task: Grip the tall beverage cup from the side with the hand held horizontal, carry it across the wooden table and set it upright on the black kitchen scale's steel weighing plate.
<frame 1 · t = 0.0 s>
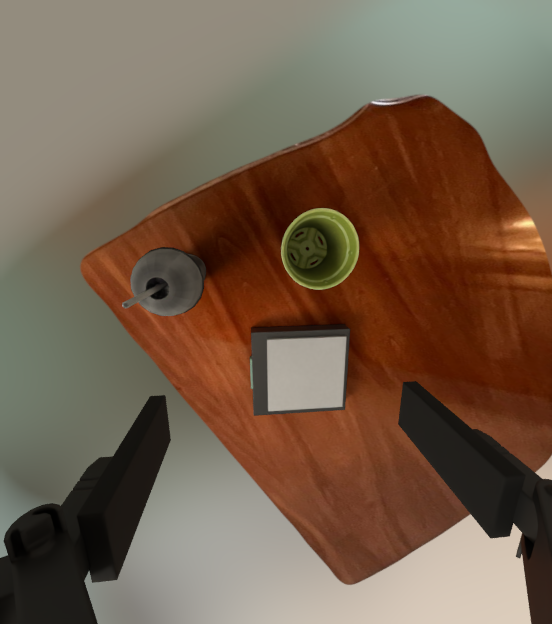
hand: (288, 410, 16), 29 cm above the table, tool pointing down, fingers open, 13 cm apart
plant pot: (306, 247, 42), on the table
beverage cup: (190, 270, 41), on the table
scale: (298, 366, 47), on the table
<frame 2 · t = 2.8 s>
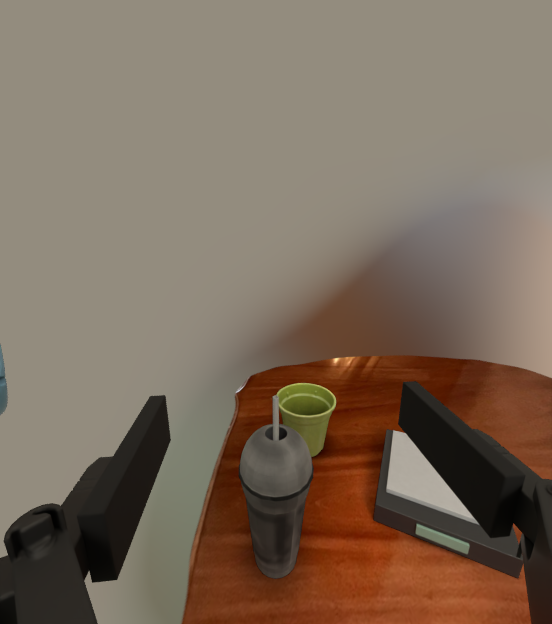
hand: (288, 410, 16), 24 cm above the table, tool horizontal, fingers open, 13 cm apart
plant pot: (304, 445, 47), on the table
beverage cup: (276, 555, 31), on the table
scale: (435, 493, 38), on the table
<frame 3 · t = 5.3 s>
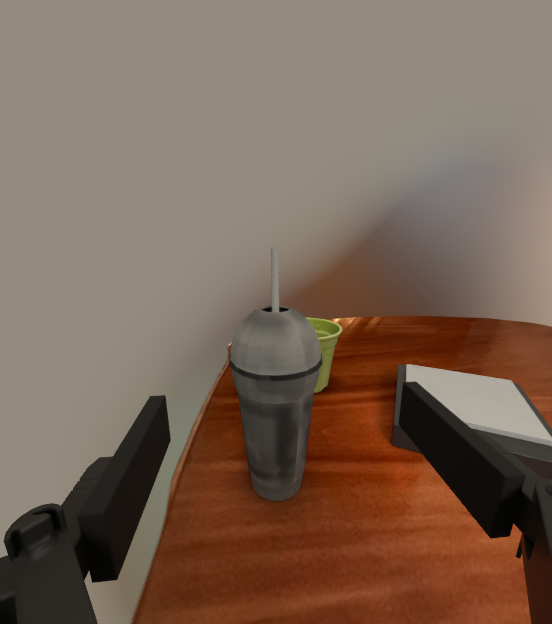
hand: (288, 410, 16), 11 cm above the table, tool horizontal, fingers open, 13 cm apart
plant pot: (305, 384, 41), on the table
beverage cup: (276, 480, 25), on the table
scale: (459, 420, 33), on the table
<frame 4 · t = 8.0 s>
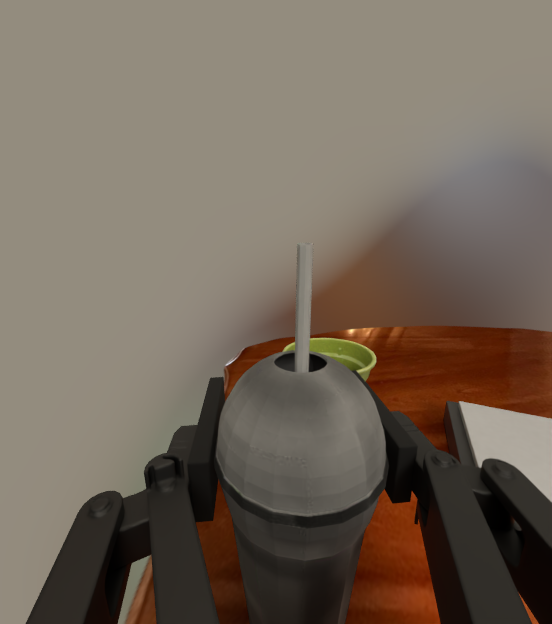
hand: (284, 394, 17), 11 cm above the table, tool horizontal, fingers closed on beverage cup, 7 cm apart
plant pot: (324, 427, 31), on the table
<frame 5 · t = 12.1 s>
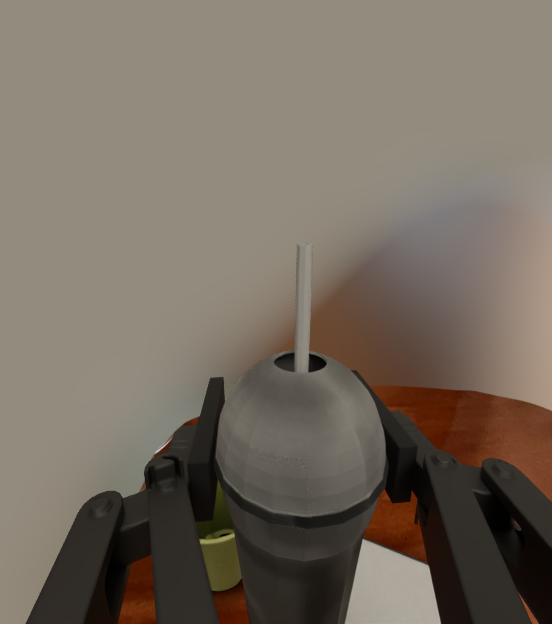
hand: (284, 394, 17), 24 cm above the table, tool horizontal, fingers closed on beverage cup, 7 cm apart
plant pot: (223, 560, 31), on the table
when the fingers open (14 cm above the table, at t = 16.3 s): beverage cup stays where it is, resting on scale.
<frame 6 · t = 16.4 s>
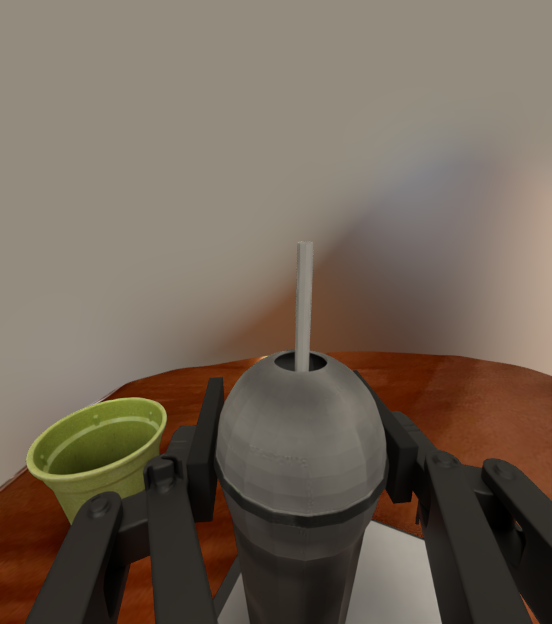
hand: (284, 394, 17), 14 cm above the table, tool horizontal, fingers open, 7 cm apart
plant pot: (119, 517, 25), on the table
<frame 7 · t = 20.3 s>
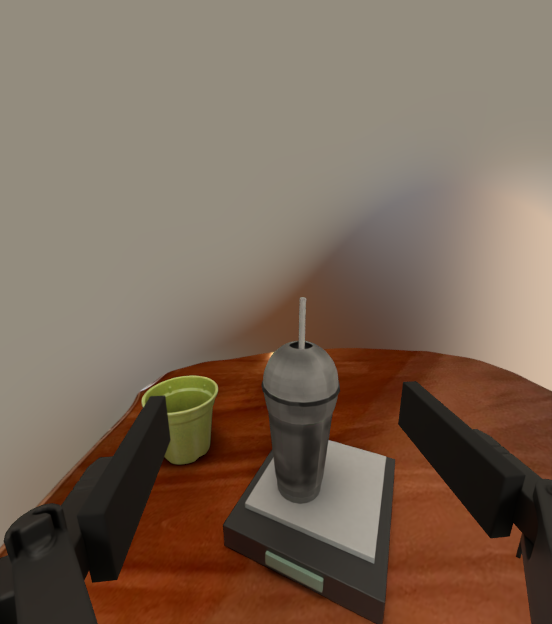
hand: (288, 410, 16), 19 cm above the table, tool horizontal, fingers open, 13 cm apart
plant pot: (187, 450, 39), on the table
beverage cup: (298, 485, 30), point 3 cm above the table, touching scale
scale: (319, 506, 30), on the table
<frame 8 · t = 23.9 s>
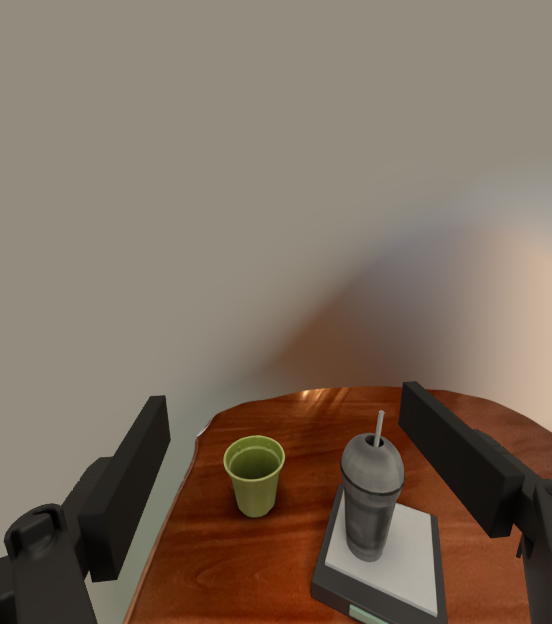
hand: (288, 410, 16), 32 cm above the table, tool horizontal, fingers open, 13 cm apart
plant pot: (255, 501, 46), on the table
beverage cup: (364, 544, 37), point 3 cm above the table, touching scale
scale: (379, 559, 37), on the table
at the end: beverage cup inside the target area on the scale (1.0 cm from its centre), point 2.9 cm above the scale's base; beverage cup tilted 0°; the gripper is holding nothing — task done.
